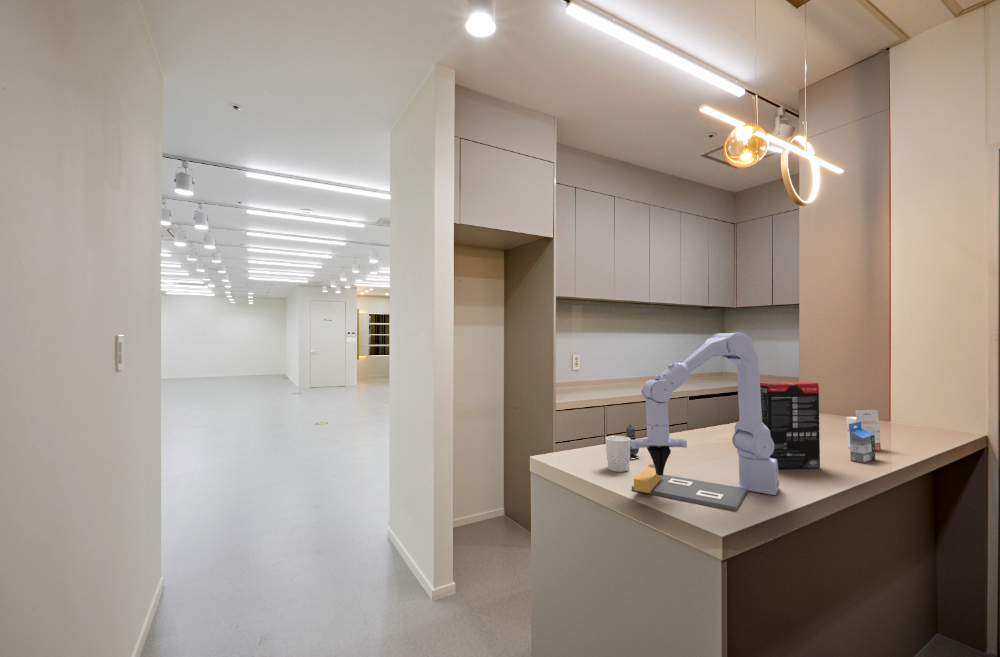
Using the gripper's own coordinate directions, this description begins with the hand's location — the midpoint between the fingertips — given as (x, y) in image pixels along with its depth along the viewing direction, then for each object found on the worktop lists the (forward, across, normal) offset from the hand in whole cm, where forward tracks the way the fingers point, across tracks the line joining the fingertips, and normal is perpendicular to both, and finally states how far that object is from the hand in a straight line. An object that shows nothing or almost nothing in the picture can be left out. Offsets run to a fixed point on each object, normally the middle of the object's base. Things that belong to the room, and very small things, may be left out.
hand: (659, 474), depth 118 cm
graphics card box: (+6, -48, -26) cm, 55 cm away
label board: (+5, -8, -2) cm, 10 cm away
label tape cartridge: (+6, -76, -33) cm, 84 cm away
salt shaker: (+6, -1, -37) cm, 38 cm away
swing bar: (+4, +2, -4) cm, 6 cm away
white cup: (+6, +7, -23) cm, 24 cm away
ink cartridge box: (+6, -87, -48) cm, 100 cm away
